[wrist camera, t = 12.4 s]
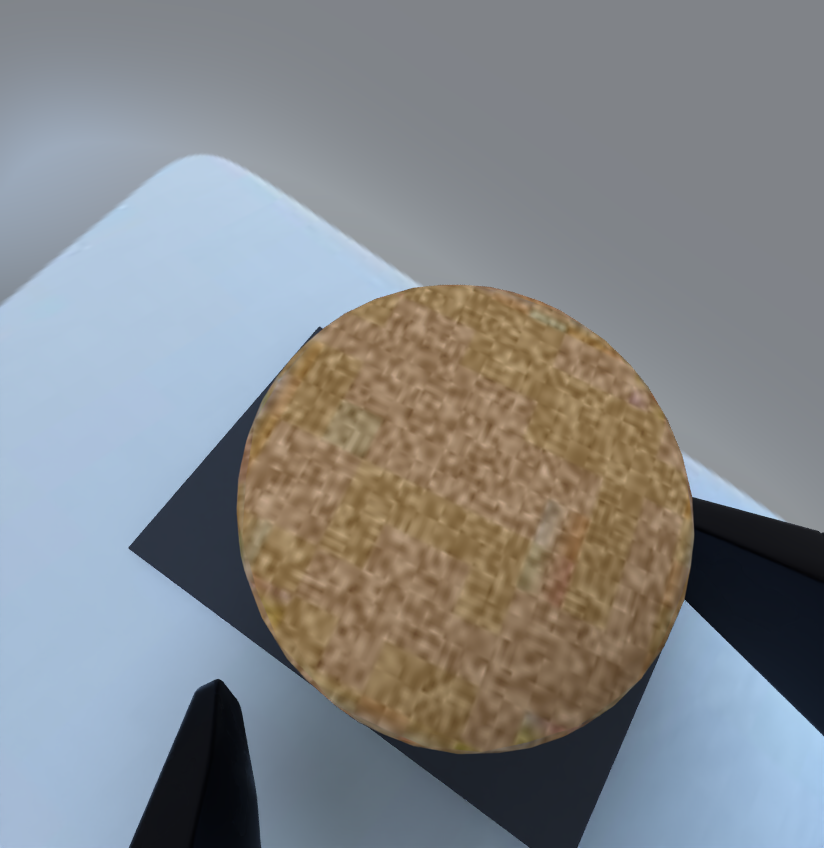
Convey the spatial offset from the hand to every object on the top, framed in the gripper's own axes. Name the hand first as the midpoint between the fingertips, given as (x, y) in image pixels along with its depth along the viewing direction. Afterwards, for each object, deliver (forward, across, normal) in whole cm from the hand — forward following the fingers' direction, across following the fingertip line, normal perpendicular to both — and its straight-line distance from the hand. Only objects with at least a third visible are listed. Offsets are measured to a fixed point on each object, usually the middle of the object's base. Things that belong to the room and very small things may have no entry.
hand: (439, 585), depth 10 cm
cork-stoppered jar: (+8, 0, +6) cm, 10 cm away
